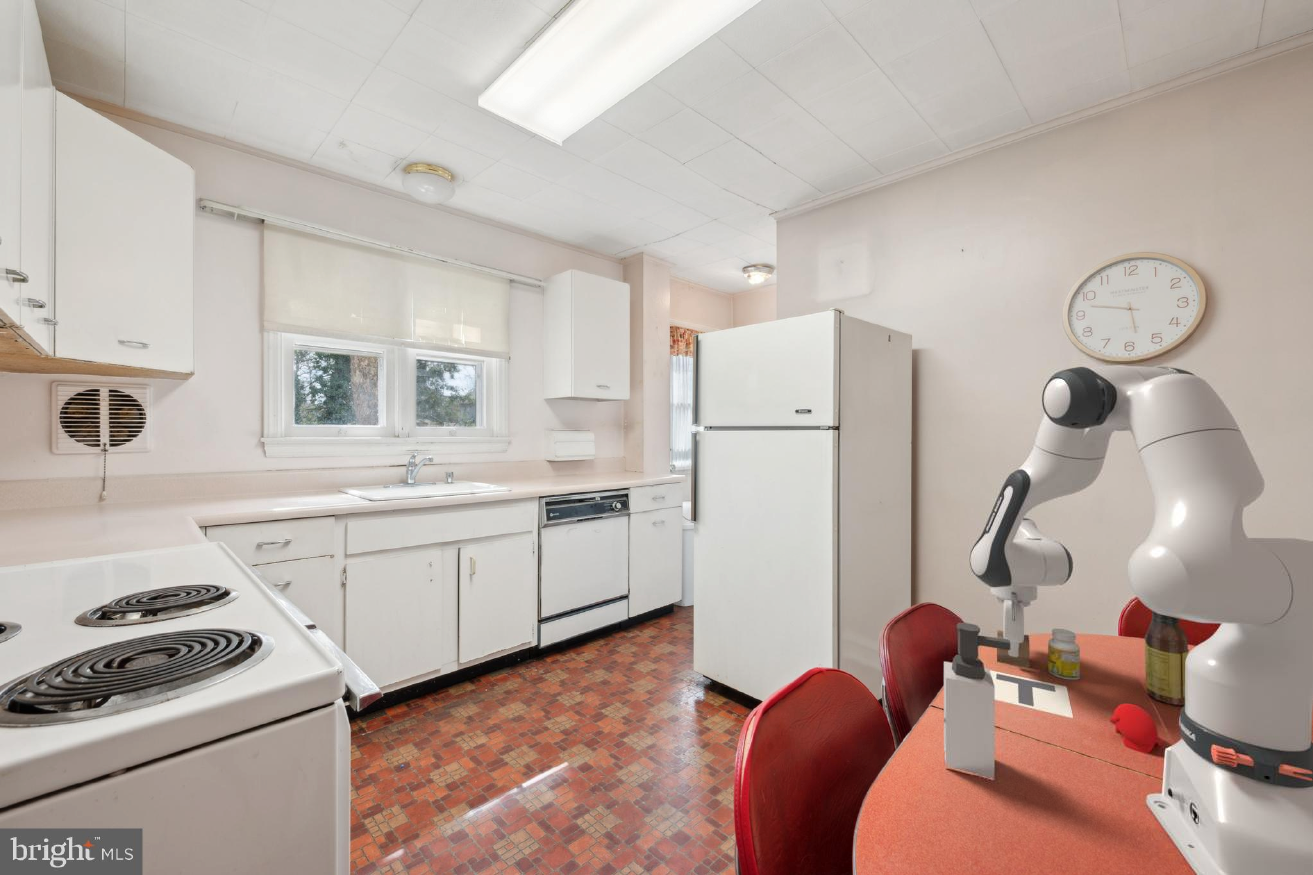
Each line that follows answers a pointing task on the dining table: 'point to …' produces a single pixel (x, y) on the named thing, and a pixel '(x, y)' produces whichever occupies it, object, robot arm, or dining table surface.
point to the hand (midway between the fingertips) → (1013, 648)
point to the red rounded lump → (1136, 728)
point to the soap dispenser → (970, 704)
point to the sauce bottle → (1166, 659)
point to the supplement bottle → (1064, 654)
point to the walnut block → (1022, 653)
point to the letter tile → (1032, 693)
